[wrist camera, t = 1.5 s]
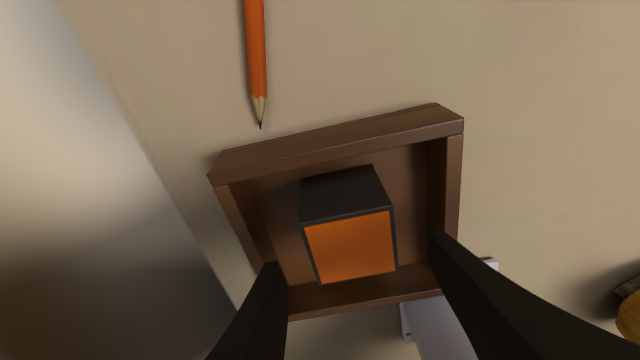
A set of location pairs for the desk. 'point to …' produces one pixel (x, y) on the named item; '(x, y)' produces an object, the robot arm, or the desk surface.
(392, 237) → the puzzle cube
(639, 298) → the decorative figurine
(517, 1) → the desk surface
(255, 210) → the walnut box
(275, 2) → the desk surface
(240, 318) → the robot arm
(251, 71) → the pencil
